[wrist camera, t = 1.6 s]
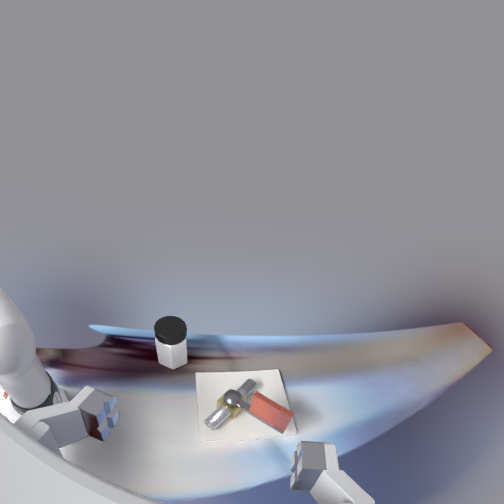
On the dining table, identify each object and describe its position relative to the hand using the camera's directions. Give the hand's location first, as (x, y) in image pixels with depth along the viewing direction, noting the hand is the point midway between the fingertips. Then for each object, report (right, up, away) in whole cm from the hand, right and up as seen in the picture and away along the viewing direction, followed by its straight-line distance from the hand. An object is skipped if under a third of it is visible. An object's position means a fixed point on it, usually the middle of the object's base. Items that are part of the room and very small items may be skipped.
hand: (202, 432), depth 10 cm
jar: (-19, -21, +63) cm, 69 cm away
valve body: (-3, -30, +51) cm, 59 cm away
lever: (+3, -28, +46) cm, 54 cm away
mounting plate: (0, -29, +53) cm, 60 cm away
